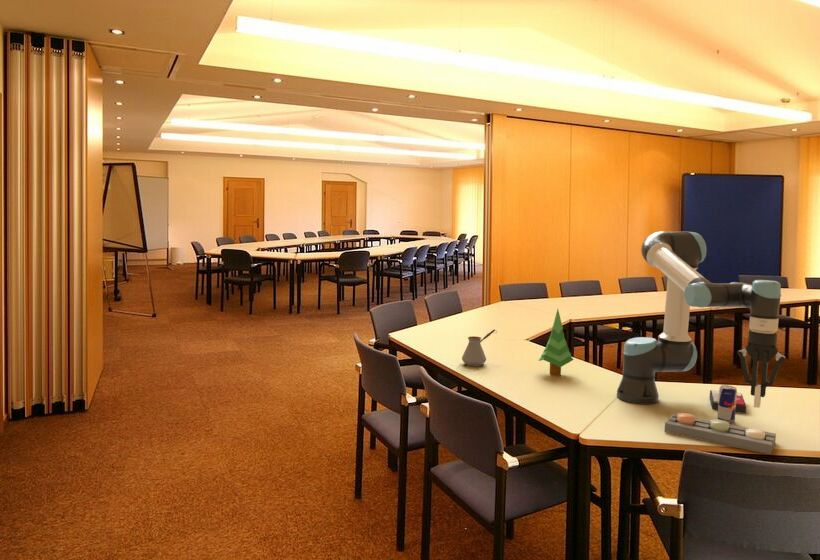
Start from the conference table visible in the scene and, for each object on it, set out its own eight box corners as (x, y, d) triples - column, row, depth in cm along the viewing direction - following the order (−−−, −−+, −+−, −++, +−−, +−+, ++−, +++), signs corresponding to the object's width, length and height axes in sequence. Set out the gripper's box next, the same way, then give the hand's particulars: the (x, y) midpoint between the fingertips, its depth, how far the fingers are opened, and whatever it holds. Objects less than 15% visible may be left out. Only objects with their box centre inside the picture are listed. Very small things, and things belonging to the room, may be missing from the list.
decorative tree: (565, 370, 273) (567, 305, 270) (575, 379, 257) (578, 310, 254) (535, 370, 272) (538, 305, 269) (544, 379, 257) (547, 310, 254)
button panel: (664, 431, 196) (665, 422, 196) (673, 422, 205) (674, 413, 205) (770, 454, 178) (771, 445, 178) (775, 442, 188) (776, 433, 187)
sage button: (708, 431, 191) (709, 422, 191) (711, 427, 195) (712, 418, 195) (726, 435, 188) (727, 426, 188) (729, 430, 192) (730, 421, 192)
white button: (743, 441, 185) (744, 431, 185) (746, 436, 189) (747, 427, 189) (763, 445, 182) (763, 435, 182) (765, 440, 186) (766, 431, 186)
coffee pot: (475, 368, 273) (476, 336, 272) (456, 364, 282) (457, 332, 280) (503, 361, 288) (504, 330, 287) (485, 357, 296) (486, 327, 295)
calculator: (712, 400, 220) (710, 388, 233) (711, 411, 220) (709, 398, 234) (746, 404, 215) (742, 391, 229) (745, 416, 216) (741, 402, 230)
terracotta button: (675, 424, 197) (675, 415, 197) (679, 420, 201) (679, 411, 201) (692, 428, 194) (692, 419, 194) (695, 423, 198) (696, 415, 198)
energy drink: (727, 424, 204) (729, 390, 203) (713, 419, 209) (716, 385, 208) (738, 422, 206) (740, 388, 205) (724, 417, 211) (726, 384, 210)
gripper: (736, 330, 183) (731, 405, 185) (786, 335, 175) (780, 413, 178) (740, 326, 189) (735, 399, 191) (789, 332, 181) (782, 407, 184)
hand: (756, 406), depth 185 cm, fingers closed
